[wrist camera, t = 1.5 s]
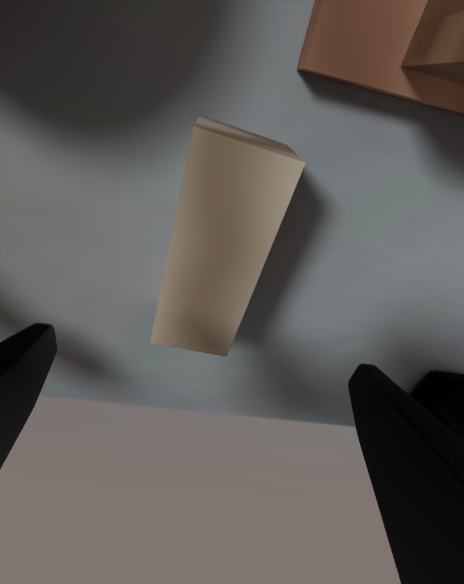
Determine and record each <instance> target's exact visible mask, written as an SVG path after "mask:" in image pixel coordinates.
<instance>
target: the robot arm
mask: <svg viewBox="0 0 464 584" xmlns="http://www.w3.org/2000/svg"><path fill="white" fill-rule="evenodd" d="M56 351H57V343H56V337H55V330H54V327H53V326H52V325H50V324H44V323H35V324H32V325H30V326H29V327H27V328H25V329H23V330H22V331H20V332H18V333H16V334H14V335H13V336H11V337H9V338H7V339H5V340H4V341H2V342H0V469H1V467H2V465H3V463H4V461H5V460H6V458H7V456H8V454H9V452H10V450H11V449H12V447H13V445H14V443H15V441H16V439H17V437H18V436H19V434H20V432H21V430H22V429H23V427H24V425H25V423H26V421H27V419H28V418H29V416H30V414H31V412H32V410H33V408H34V406H35V404H36V401H37V399H38V397H39V394H40V392H41V389H42V387H43V384H44V382H45V380H46V377H47V375H48V372H49V370H50V367H51V365H52V362H53V360H54V357H55V355H56ZM348 388H349V394H350V399H351V404H352V410H353V415H354V420H355V425H356V430H357V434H358V438H359V442H360V446H361V449H362V452H363V456H364V459H365V463H366V466H367V469H368V473H369V476H370V479H371V483H372V486H373V490H374V493H375V496H376V500H377V503H378V506H379V510H380V513H381V517H382V520H383V524H384V527H385V530H386V533H387V537H388V541H389V544H390V547H391V551H392V554H393V558H394V561H395V564H396V568H397V571H398V574H399V578H400V581H401V584H464V375H462V374H454V373H446V372H438V371H434V372H431V373H429V374H428V375H427V376H426V377H425V378H424V379H423V380H422V382H421V383H420V384H419V385H418V386H417V388H416V389H415V390H414V391H413V392H412V393H411V395H410V396H409V395H408V394H407V393H406V392H405V391H404V390H402V389H401V388H400V387H399V386H398V385H397V384H396V383H394V382H393V381H392V380H391V379H390V378H389V377H388V376H386V375H385V374H384V373H383V372H382V371H381V370H379V369H378V368H377V367H376V366H374V365H371V364H360V365H359V366H358V367H357V369H356V370H355V372H354V373H353V375H352V376H351V378H350V380H349V383H348Z"/></svg>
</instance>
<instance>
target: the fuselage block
mask: <svg viewBox="0 0 464 584" xmlns="http://www.w3.org/2000/svg"><path fill="white" fill-rule="evenodd" d="M305 163H306V162H305V161H304V160H302V159H301V158H300V157H299V156H298V155H297V154H296V153H295V152H294V151H293V150H292V149H291V148H290V147H288V146H287V145H286V144H284V143H281V142H278V141H275V140H272V139H269V138H266V137H263V136H260V135H257V134H254V133H251V132H248V131H245V130H242V129H239V128H236V127H233V126H230V125H227V124H224V123H221V122H218V121H215V120H212V119H209V118H206V117H203V116H200V115H199V117H198V119H197V120H196V122H195V124H194V126H193V130H192V135H191V140H190V145H189V150H188V155H187V160H186V165H185V170H184V175H183V180H182V185H181V190H180V195H179V200H178V205H177V210H176V215H175V220H174V225H173V230H172V235H171V240H170V245H169V250H168V255H167V260H166V265H165V270H164V275H163V280H162V285H161V291H160V296H159V301H158V306H157V311H156V316H155V321H154V326H153V331H152V336H151V341H150V343H154V344H160V345H165V346H171V347H176V348H182V349H187V350H193V351H198V352H204V353H209V354H215V355H220V356H226V357H227V355H228V352H229V350H230V347H231V345H232V342H233V340H234V337H235V335H236V333H237V330H238V328H239V325H240V323H241V320H242V318H243V315H244V313H245V310H246V308H247V306H248V303H249V301H250V298H251V296H252V293H253V291H254V288H255V286H256V283H257V281H258V279H259V276H260V274H261V271H262V269H263V266H264V264H265V261H266V259H267V256H268V254H269V252H270V249H271V247H272V244H273V242H274V239H275V237H276V234H277V232H278V229H279V227H280V224H281V222H282V220H283V217H284V215H285V212H286V210H287V207H288V205H289V202H290V200H291V197H292V195H293V193H294V190H295V188H296V185H297V183H298V180H299V178H300V175H301V173H302V170H303V168H304V166H305Z"/></svg>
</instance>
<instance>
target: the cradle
mask: <svg viewBox="0 0 464 584" xmlns="http://www.w3.org/2000/svg"><path fill="white" fill-rule="evenodd" d="M297 70H299V71H303V72H307V73H311V74H314V75H318V76H322V77H325V78H329V79H333V80H337V81H340V82H344V83H348V84H351V85H355V86H359V87H363V88H366V89H370V90H374V91H377V92H381V93H385V94H389V95H392V96H396V97H400V98H403V99H407V100H411V101H415V102H418V103H422V104H426V105H429V106H433V107H437V108H441V109H444V110H448V111H452V112H455V113H459V114H463V115H464V0H315V3H314V7H313V10H312V14H311V18H310V22H309V25H308V29H307V33H306V37H305V40H304V44H303V48H302V52H301V56H300V59H299V63H298V67H297Z"/></svg>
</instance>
